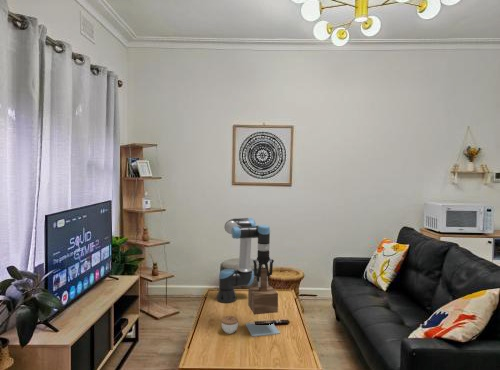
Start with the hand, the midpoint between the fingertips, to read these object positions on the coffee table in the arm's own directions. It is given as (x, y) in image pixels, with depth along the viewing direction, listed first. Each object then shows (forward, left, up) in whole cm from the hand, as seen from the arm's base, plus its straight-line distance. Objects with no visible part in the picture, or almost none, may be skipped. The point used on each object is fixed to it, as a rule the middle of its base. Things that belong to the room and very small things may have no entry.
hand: (262, 286), depth 228 cm
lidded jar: (-1, -21, -28) cm, 35 cm away
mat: (0, 0, -28) cm, 28 cm away
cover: (0, 0, -15) cm, 15 cm away
